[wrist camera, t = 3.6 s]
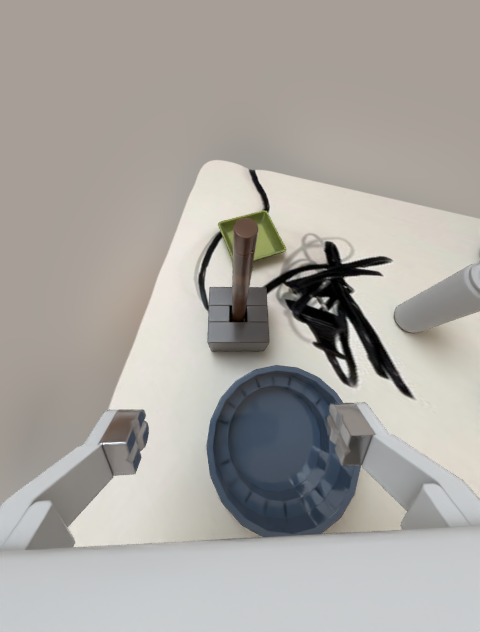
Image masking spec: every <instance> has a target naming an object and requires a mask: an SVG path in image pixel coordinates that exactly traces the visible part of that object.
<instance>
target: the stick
mask: <svg viewBox="0 0 480 632" xmlns="http://www.w3.org/2000/svg"><path fill="white" fill-rule="evenodd" d="M258 230H259V228H258V225H257V223H256V222H255V221H254V220H252V219H249V218H242V219H239V220H237V221H236V222H235V224H234V226H233V276H232V322H244V316H245V310H246V304H247V298H248V291H249V285H250V279H251V273H252V267H253V261H254V255H255V249H256V243H257V236H258Z"/></svg>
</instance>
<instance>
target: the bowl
mask: <svg viewBox="0 0 480 632" xmlns="http://www.w3.org/2000/svg"><path fill="white" fill-rule="evenodd" d="M335 403H343V402H342V400H341V399H340V397H339V396H338V395H337V393H336V392H335V391H334V390H333V389H331V388H330V387H329V386H328V385H327V384H326V383H325V382H323V381H322V380H321V379H320V378H319V377H317V376H315V375H313V374H310V373H308V372H306V371H304V370H302V369H299V368H296V367H288V366H279V365H275V366H270V367H265V368H260V369H256V370H254V371H252V372H250V373H248V374H247V375H245V376H243V377H242V378H240V379H238V380H237V381H235V383H234V384H233V385H232V386H231V387H230V388H229V389H228V390H227V392H226V393H225V394H224V395H223V396H222V397H221V399H220V401H219V403H218V405H217V407H216V409H215V412H214V414H213V416H212V418H211V421H210V426H209V433H208V440H207V456H208V463H209V471H210V476H211V479H212V481H213V484H214V486H215V488H216V490H217V493H218V495H219V497H220V499H221V502H222V503H223V505H224V506H225V507H226V508H227V509H228V510H229V511H230V513H231V514H232V515H233V516H234V517H235V518H236V519H237V520H238V522H239V523H240V524H241V525H242V526H244V527H246V528H248V529H249V530H251V531H253V532H255V533H257V534H259V535H260V536H262V537H277V536H296V535H315V534H321V533H322V532H324V531H325V530H326V529H327V528H329V527H330V526H331V525H332V524H334V523H335V522H336V521H337V520H338V519H340V517H342V515H343V513H344V511H345V510H346V508H347V506H348V505H349V503H350V501H351V500H352V498H353V496H354V493H355V490H356V486H357V481H358V477H359V472H360V468H361V467H360V466H361V465H359V466H341V464H340V462H339V460H338V457H337V455H336V453H335V451H334V449H335V444H334V443H333V442H332V441H330V439H329V437H328V434H327V431H326V418H327V417H328V416H329V415H330V413H329V410H328V409H329V406H330V404H335Z"/></svg>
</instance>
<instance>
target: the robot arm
mask: <svg viewBox="0 0 480 632" xmlns="http://www.w3.org/2000/svg"><path fill="white" fill-rule="evenodd" d="M328 410H329V413H330V415H329V416H328V417H327V418H326V431H327V434H328V437H329V439H330V441H332V442H333V443H334V444H335V449H334V451H335V453H336V455H337V457H338V460H339V462H340V464H341V466H359V465H362V467H363V468H364V469H365V470H366V471H367V472H368V473H369V474H370V475H371V476H372V477H373V478H374V479H375V480H376V481H377V482H378V483H379V484H380V485H381V486H382V487H383V488H384V489H385V490H386V491H387V492H388V493H389V494H390V495H391V496H392V497H393V498H394V499H395V500H396V501H397V502H398V503H399V504H400V505H401V506H402V507H403V508H404V509H405V510H406V511H407V513H406V514H405V516H404V518H403V520H402V522H401V527H402V529H403V530H391V531H372V532H353V533H334V534H315V535H296V536H277V537H258V538H239V539H220V540H202V541H183V542H164V543H145V544H127V545H108V546H89V547H73V546H74V544H75V540H74V537H73V536H72V534H71V532H70V531H69V529H68V528H67V527H68V526H69V525H70V524H71V523H72V522H73V521H74V520H75V519H76V517H77V516H78V515H79V514H80V513H81V512H82V511H83V510H84V509H85V508H86V506H87V505H88V504H89V503H90V502H91V501H92V500H93V499H94V498H95V497H96V496H97V494H98V493H99V492H100V491H101V490H102V489H103V488H104V487H105V486H106V485H107V483H108V482H109V481H110V480H111V479H112V478H113V476H116V475H130V474H136V471H137V468H138V465H139V463H140V460H141V454H140V451H141V450H142V449H143V448H144V447H145V446H146V443H147V440H148V434H149V427H148V423H147V422H146V421H144V419H145V417H146V414H145V411H144V410H107V411H105V412H104V413H103V414H102V416H101V418H100V419H99V421H98V423H97V424H96V426H95V427H94V429H93V430H92V432H91V434H90V435H89V437H88V438H87V440H86V442H85V443H84V445H83V446H78V447H77V448H75V449H74V450H73V451H71V452H70V453H69V454H67V455H66V456H65V457H63V458H62V459H60V461H58V462H56V463H55V464H54V465H52V466H51V467H50V468H48V469H47V470H46V471H44V472H43V473H41V474H40V475H39V476H37V477H36V478H35V479H33V480H32V481H31V482H29V483H28V484H27V485H25V486H24V487H22V488H21V489H20V490H19V491H17V492H16V493H14V494H13V495H12V496H10V497H9V498H8V499H6V500H5V501H4V502H3V503H2V504H1V506H0V632H480V499H479V498H478V497H477V496H476V494H475V493H474V492H473V491H472V490H471V489H470V487H469V486H468V485H467V484H466V483H465V482H464V481H463V480H462V479H460V478H459V477H457V476H456V475H454V474H452V473H451V472H449V471H448V470H446V469H445V468H443V467H442V466H440V465H439V464H437V463H436V462H434V461H433V460H431V459H430V458H428V457H427V456H425V455H424V454H422V453H420V452H419V451H417V450H416V449H414V448H413V447H411V446H410V445H408V444H407V443H405V442H404V441H402V440H401V439H399V438H398V437H396V436H395V435H390V434H389V433H388V432H387V430H386V429H385V428H384V426H383V425H382V423H381V422H380V421H379V419H378V418H377V417H376V415H375V414H374V412H373V411H372V410H371V408H370V407H369V406H368V404H366V403H365V402H361V403H335V404H330V406H329V409H328Z"/></svg>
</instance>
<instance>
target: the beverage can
mask: <svg viewBox="0 0 480 632" xmlns="http://www.w3.org/2000/svg"><path fill="white" fill-rule="evenodd" d="M479 311H480V262H477V263H476V264H471V265H469V266H468V267H466V268H464V269H462V270H460V271H459V272H457V273H455V274H453V275H452V276H450V277H448V278H446V279H444V280H443V281H441V282H439V283H437V284H436V285H434V286H432V287H430V288H429V289H427V290H425V291H423V292H421V293H420V294H418V295H416V296H414V297H413V298H411V299H409V300H407V301H405V302H404V303H402V304H400V305H399V306H398V307H397V308H396V310H395V320H396V322H397V324H398V325H399V326H400V327H401V328H402V329H404V330H406V331H408V332H412V333H418V332H422V331H425V330H427V329H430V328H433V327H436V326H439V325H441V324H444V323H447V322H450V321H453V320H455V319H458V318H461V317H464V316H467V315H470V314H473V313H476V312H479Z"/></svg>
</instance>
